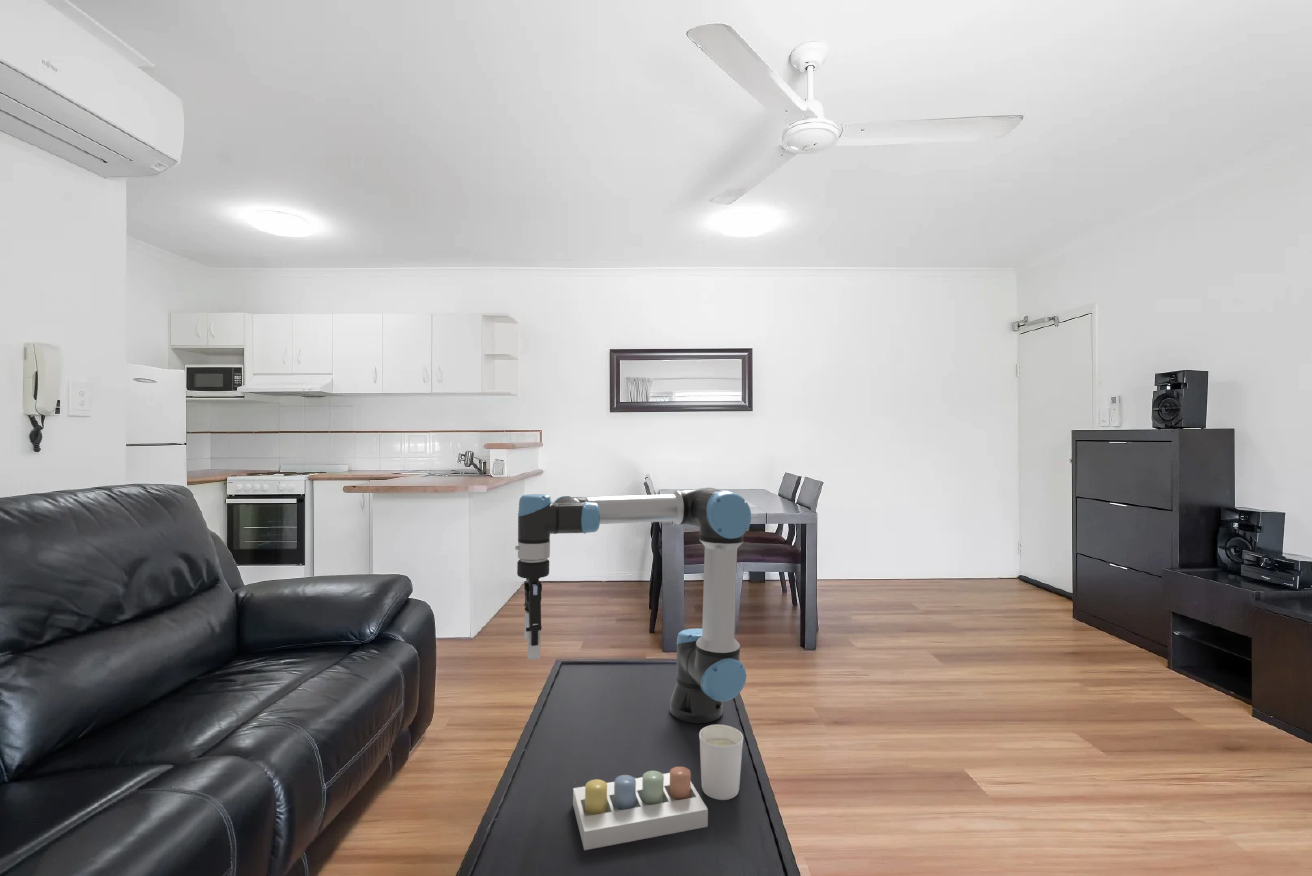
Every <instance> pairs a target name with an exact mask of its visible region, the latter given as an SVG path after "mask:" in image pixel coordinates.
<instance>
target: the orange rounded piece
mask: <svg viewBox="0 0 1312 876" xmlns="http://www.w3.org/2000/svg"><path fill="white" fill-rule="evenodd" d="M669 773H670V796H671V797H672V798H673V799H675V800H683V799H688V798H689V797H690V785H691V782H692V781H691V777H692V776H691V773H692V772H691V770H690V769H689V768H688V767H685V766H674V767H672V768H671V769H670V770H669Z"/></svg>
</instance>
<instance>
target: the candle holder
mask: <svg viewBox="0 0 1312 876" xmlns="http://www.w3.org/2000/svg"><path fill="white" fill-rule="evenodd" d="M698 737H699V738H698V739H699V754H700V755H699V757H700V759H699V762H700V778H701V779H700V780H701V790H702V791H703V793H704V794H705V795H706V796H707V797H709V798H710V799H715V800H718V801H726V800H727V801H728V800H731V799H734V798H735V797H736V796H737V795H738V794H739V791H740V783H741V772H742V771H741V769H742V758H743V757H742V756H743V742H744V735H743V733H742V732H741V731H740V730H739V729H737V728H736V727H733V726H732V725H726V724H719V723H718V724H710V725H707V726H706V725H705V727H703V728H701V729H700V730H699V733H698Z"/></svg>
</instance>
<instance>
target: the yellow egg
mask: <svg viewBox="0 0 1312 876" xmlns="http://www.w3.org/2000/svg"><path fill="white" fill-rule="evenodd" d="M607 783H608V782H606V781H605V780H602V779H600V778H599V779H598V778H597V779H591V780H589V781H587V782H586V783H585V811H586V812H587V813H588V814H590V815H596V814H602V813H604V812H605V811H606V809H607Z"/></svg>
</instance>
